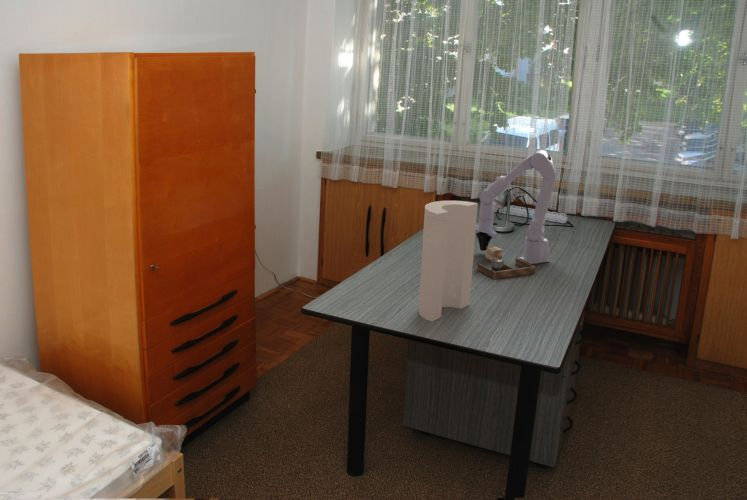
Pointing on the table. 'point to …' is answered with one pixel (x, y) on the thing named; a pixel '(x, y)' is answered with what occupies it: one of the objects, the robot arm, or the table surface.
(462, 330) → the table surface
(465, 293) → the white curved column
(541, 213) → the robot arm
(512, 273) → the rack
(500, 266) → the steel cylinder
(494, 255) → the maple block
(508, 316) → the table surface
